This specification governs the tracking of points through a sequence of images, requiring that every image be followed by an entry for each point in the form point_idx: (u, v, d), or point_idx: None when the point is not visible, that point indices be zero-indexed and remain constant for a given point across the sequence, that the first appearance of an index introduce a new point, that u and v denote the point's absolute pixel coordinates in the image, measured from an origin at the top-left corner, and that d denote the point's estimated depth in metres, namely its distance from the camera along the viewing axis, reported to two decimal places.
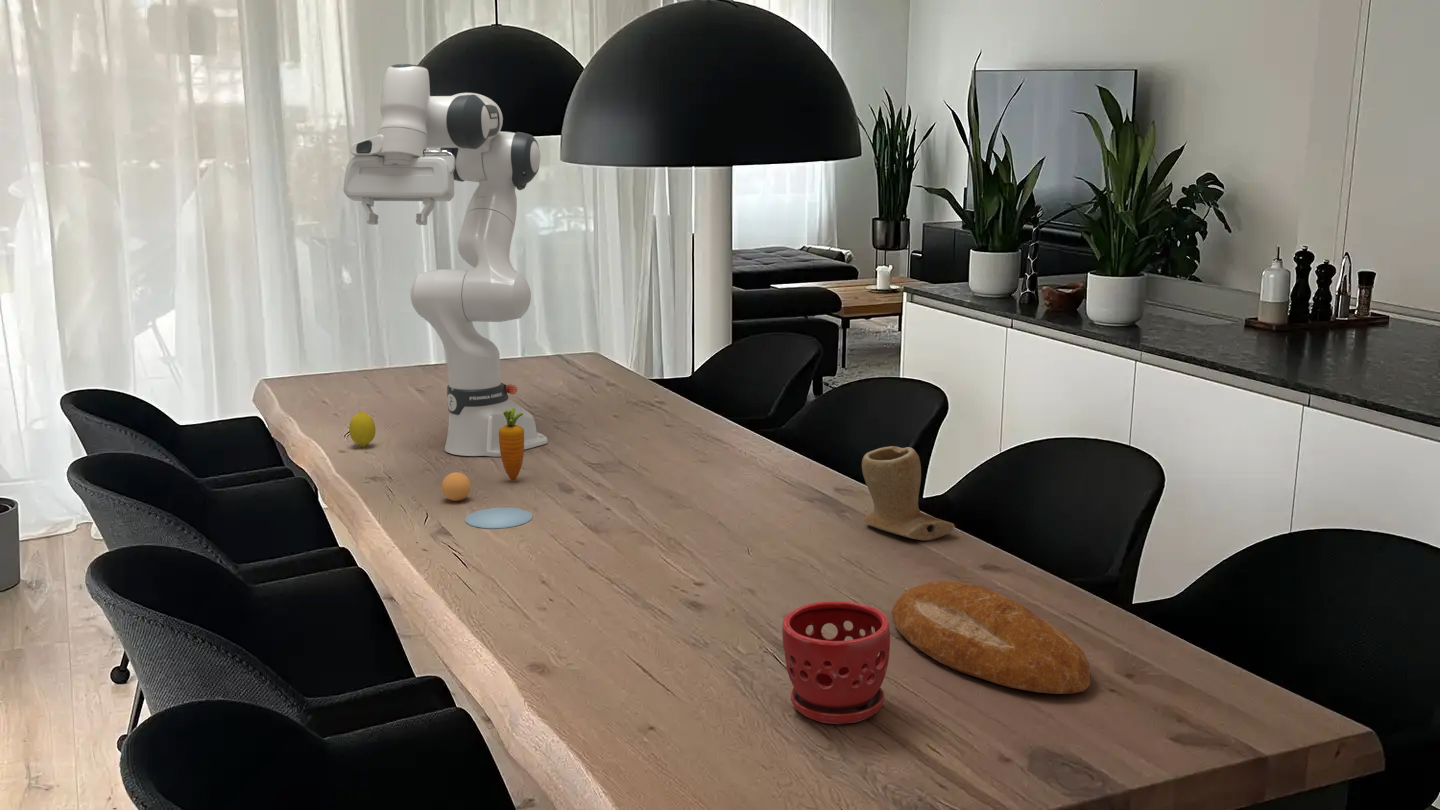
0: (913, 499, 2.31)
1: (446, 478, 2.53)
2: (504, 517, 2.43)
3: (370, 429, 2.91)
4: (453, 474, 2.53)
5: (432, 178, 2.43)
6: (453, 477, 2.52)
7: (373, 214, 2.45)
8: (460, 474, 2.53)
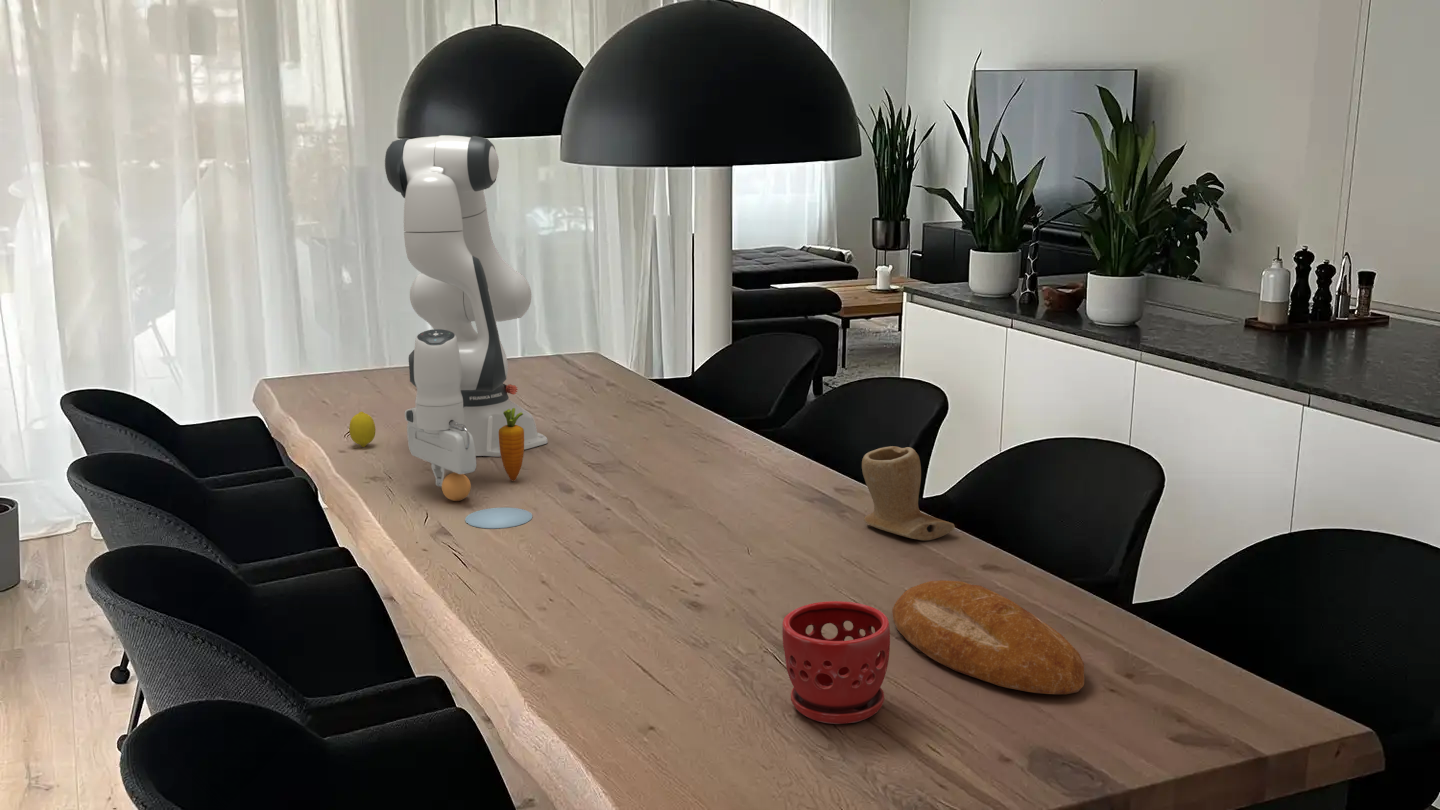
0: (913, 499, 2.31)
1: (446, 478, 2.53)
2: (504, 517, 2.43)
3: (370, 429, 2.91)
4: (453, 474, 2.53)
5: (451, 454, 2.49)
6: (453, 477, 2.52)
7: (438, 479, 2.56)
8: (460, 474, 2.53)
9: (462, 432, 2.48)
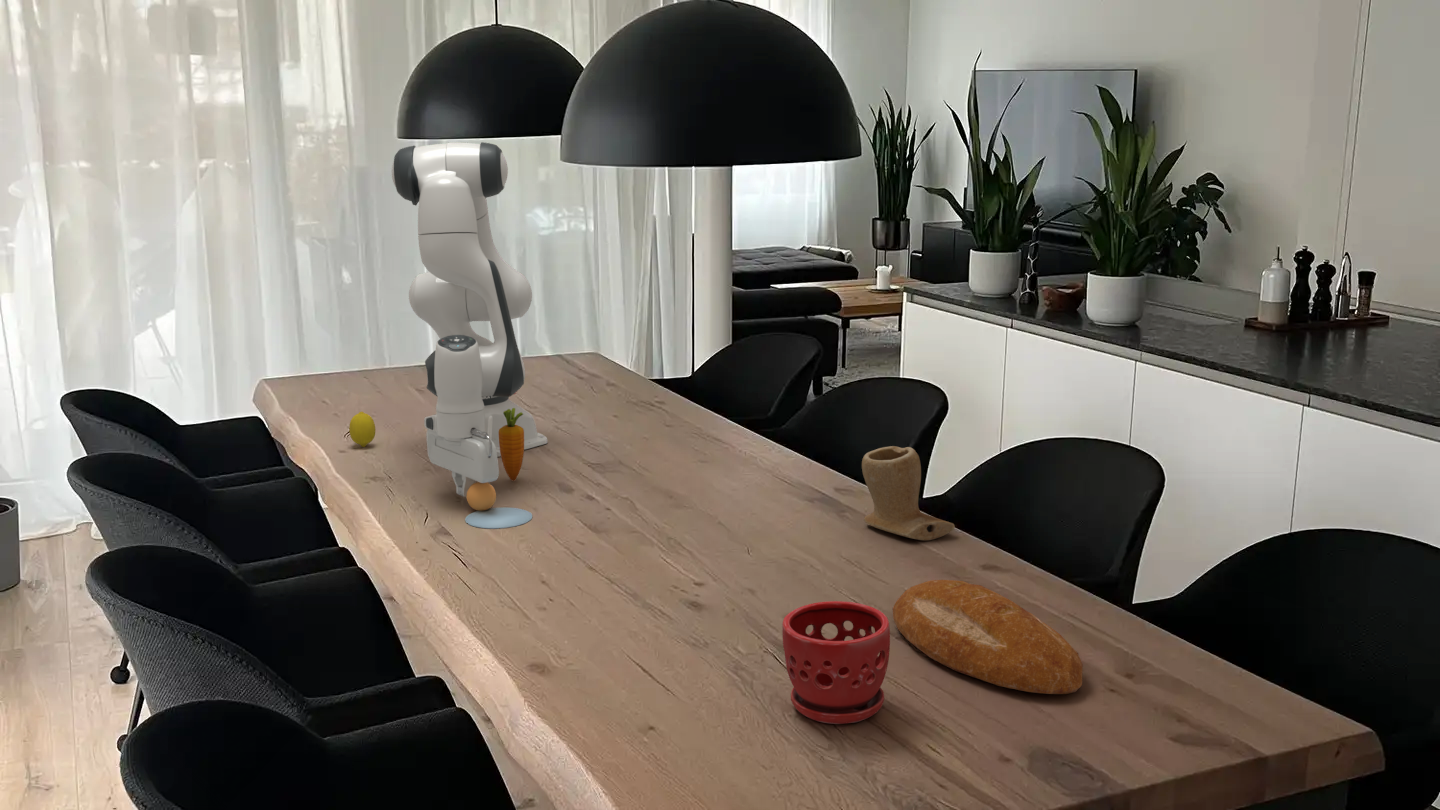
0: (913, 499, 2.31)
1: (475, 506, 2.46)
2: (504, 517, 2.43)
3: (370, 429, 2.91)
4: (480, 510, 2.47)
5: (473, 463, 2.44)
6: (476, 509, 2.47)
7: (459, 488, 2.51)
8: None
9: (484, 440, 2.42)
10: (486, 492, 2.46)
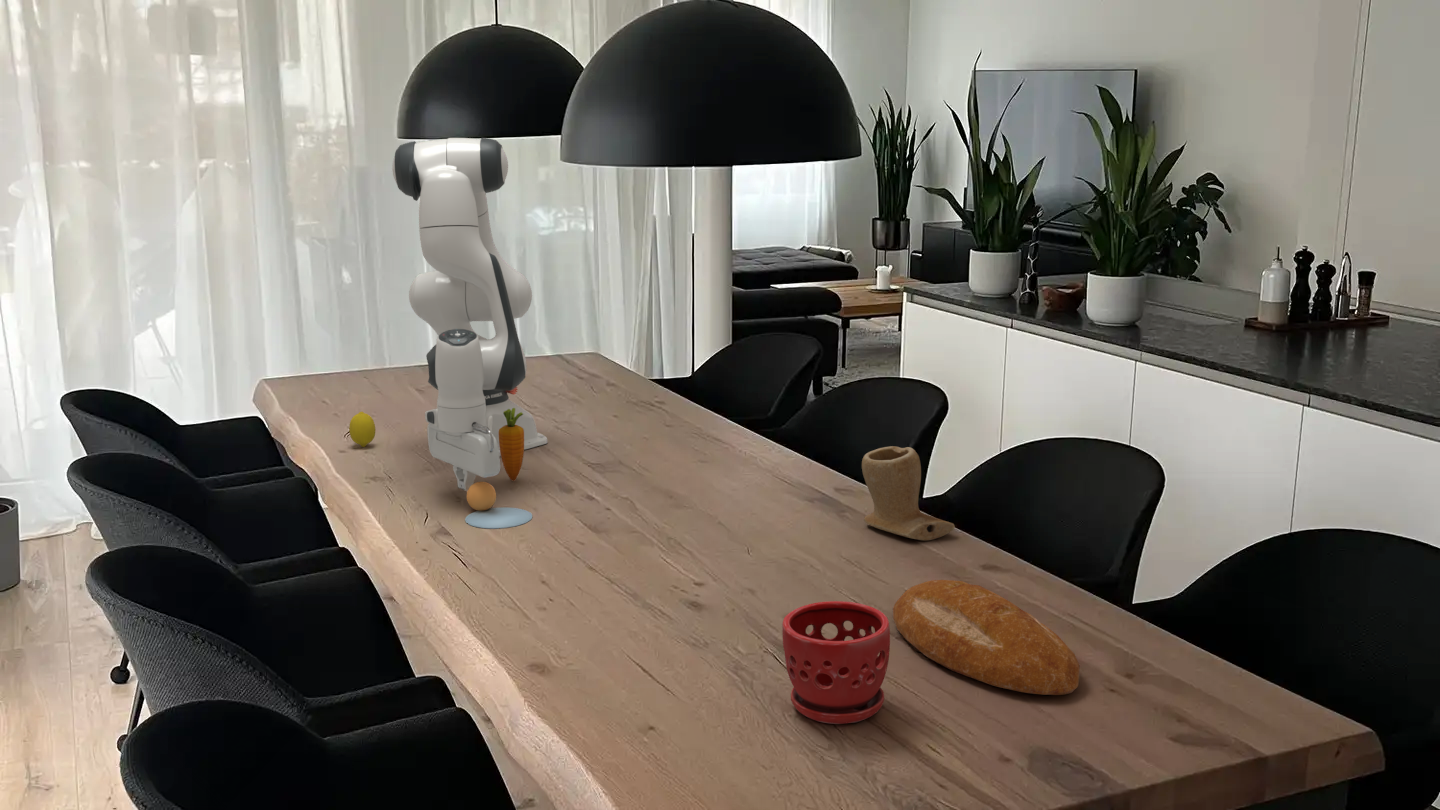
0: (913, 499, 2.31)
1: (475, 506, 2.46)
2: (504, 517, 2.43)
3: (370, 429, 2.91)
4: (480, 510, 2.47)
5: (474, 457, 2.44)
6: (476, 509, 2.47)
7: (460, 482, 2.52)
8: None
9: (486, 435, 2.43)
10: (486, 492, 2.46)
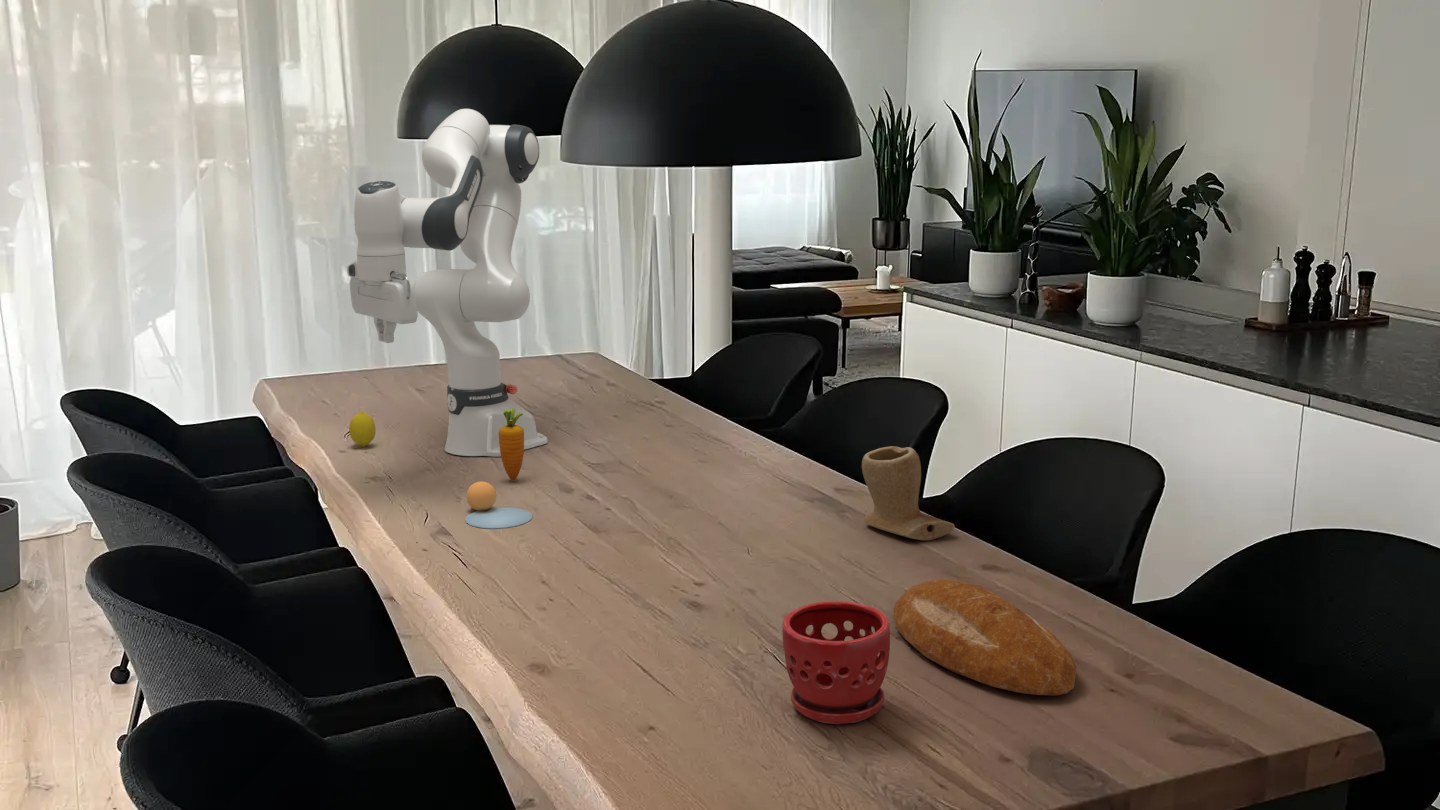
0: (913, 499, 2.31)
1: (475, 506, 2.46)
2: (504, 517, 2.43)
3: (370, 429, 2.91)
4: (480, 510, 2.47)
5: (392, 304, 2.48)
6: (476, 509, 2.47)
7: (381, 334, 2.55)
8: None
9: (403, 281, 2.46)
10: (486, 492, 2.46)
